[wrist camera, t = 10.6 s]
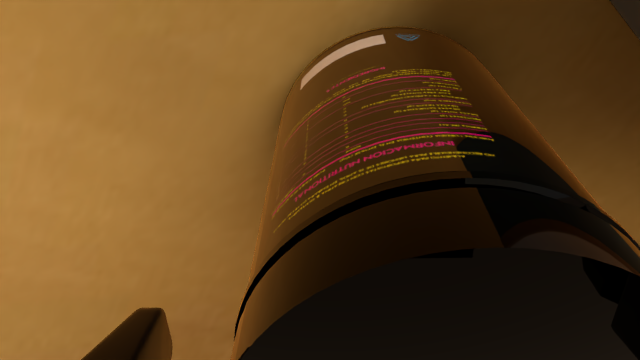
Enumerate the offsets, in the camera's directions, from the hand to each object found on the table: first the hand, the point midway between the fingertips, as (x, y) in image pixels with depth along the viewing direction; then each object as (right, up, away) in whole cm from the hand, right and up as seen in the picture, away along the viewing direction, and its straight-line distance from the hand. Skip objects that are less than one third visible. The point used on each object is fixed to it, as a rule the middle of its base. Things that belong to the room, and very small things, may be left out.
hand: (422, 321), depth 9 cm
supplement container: (0, +4, +7) cm, 9 cm away
